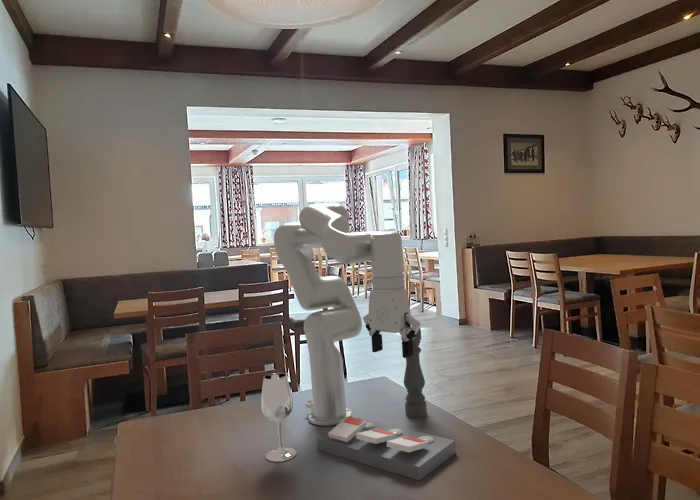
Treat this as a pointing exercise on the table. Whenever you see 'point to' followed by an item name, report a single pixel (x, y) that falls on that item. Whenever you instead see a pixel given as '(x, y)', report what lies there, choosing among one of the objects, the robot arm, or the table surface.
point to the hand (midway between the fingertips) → (392, 353)
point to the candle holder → (414, 382)
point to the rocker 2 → (376, 436)
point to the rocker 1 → (347, 429)
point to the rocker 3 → (407, 444)
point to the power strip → (392, 451)
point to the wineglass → (277, 410)
